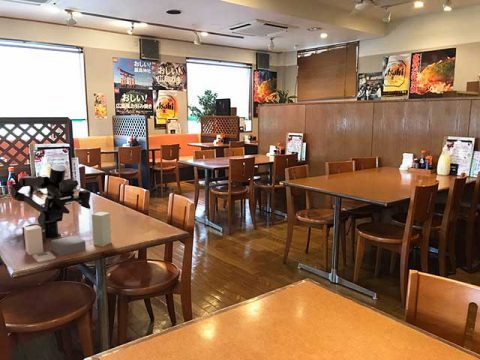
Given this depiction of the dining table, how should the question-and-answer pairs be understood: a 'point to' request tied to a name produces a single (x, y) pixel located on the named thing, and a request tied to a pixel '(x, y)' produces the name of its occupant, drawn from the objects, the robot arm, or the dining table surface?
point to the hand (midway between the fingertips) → (79, 210)
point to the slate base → (68, 245)
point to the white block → (33, 239)
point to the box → (41, 229)
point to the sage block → (101, 228)
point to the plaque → (43, 257)
